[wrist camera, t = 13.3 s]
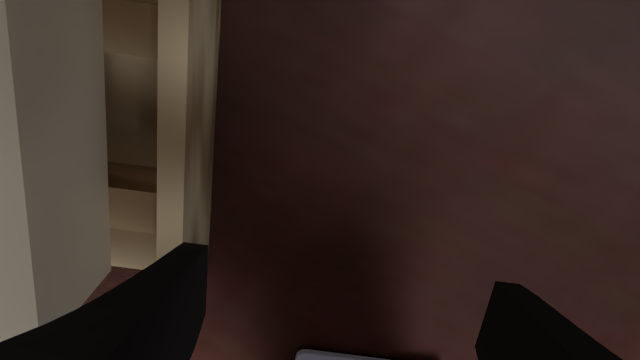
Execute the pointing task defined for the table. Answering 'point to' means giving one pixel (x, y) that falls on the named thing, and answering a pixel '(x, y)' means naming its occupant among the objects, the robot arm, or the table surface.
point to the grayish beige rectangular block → (51, 160)
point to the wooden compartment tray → (159, 124)
